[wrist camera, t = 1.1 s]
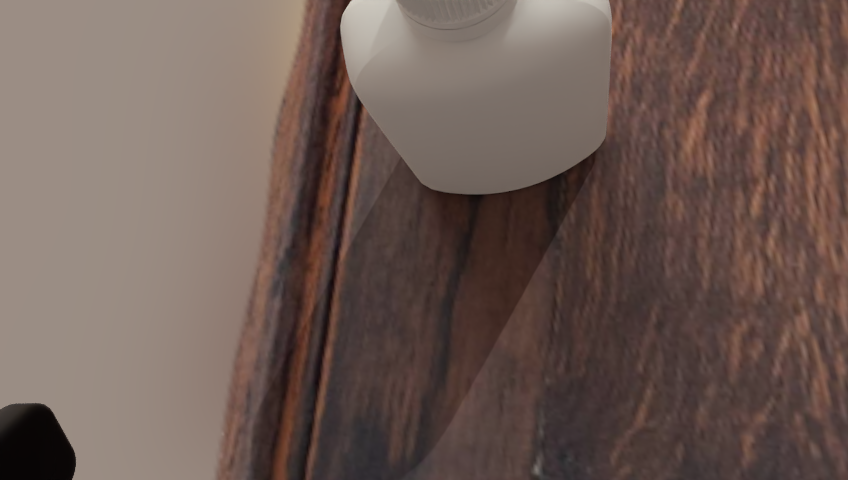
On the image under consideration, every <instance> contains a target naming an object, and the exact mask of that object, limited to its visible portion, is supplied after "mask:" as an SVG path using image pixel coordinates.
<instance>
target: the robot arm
mask: <svg viewBox="0 0 848 480" xmlns="http://www.w3.org/2000/svg"><path fill="white" fill-rule="evenodd" d="M75 467H76V457H75V453H74V450H73V448H72V446H71V444H70V443H69V441H68V439H67V437H66V435H65V433H64V432H63V430H62V428H61V426H60V424H59V423H58V421H57V419H56V417H55V416H54V414H53V412H52V411H51V409H50V408H48V407H47V406H46V405H44V404H39V403H27V404H11V405H8V406H6V407H4V408H2V409H0V480H72V478H73V475H74V472H75Z"/></svg>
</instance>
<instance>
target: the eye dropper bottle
mask: <svg viewBox="0 0 848 480" xmlns="http://www.w3.org/2000/svg"><path fill="white" fill-rule="evenodd" d="M340 28H341V38H342V45H343V51H344V57H345V62H346V67H347V71H348V75H349V79H350V82H351V84H352V87H353V89H354V91H355V92H356V94H357V96H358V97H359V99H360V101H361V102H362V104H363V105H364V107H365V108H366V109H367V111H368V112H369V114H370V115H371V117H372V118H373V120H374V121H375V122H376V124H377V125H378V126H379V128H380V129H381V130H382V132H383V133H384V134H385V136H386V137H387V138H388V140H389V141H390V142H391V144H392V145H393V146H394V148H395V149H396V150H397V152H398V153H399V154H400V156H401V157H402V158H403V160H404V161H405V162H406V164H407V165H408V166H409V168H410V169H411V170H412V172H413V173H414V174H415V175H416V177H417V178H418V179H419V181H420V182H421V183H422V184H423V185H425V186H427V187H429V188H430V189H433V190H437V191H441V192H447V193H455V194H493V193H501V192H508V191H513V190H517V189H521V188H525V187H528V186H531V185H534V184H537V183H540V182H543V181H545V180H548V179H550V178H552V177H554V176H556V175H558V174H560V173H562V172H564V171H566V170H568V169H569V168H571V167H573V166H574V165H576V164H578V163H579V162H581V161H582V160H584V159H585V158H587V157H588V156H589V155H591V154H592V153H593V152H594V151H595V150H597V149H598V148H599V146H600V145H601V143H602V142H603V141H604V139H605V138H606V129H607V113H608V96H609V79H610V58H611V29H612V16H611V10H610V4H609V0H352V1H351V2H350V3H349V5H348V6H347V8H346V10H345V11H344V13H343V15H342V20H341V26H340Z"/></svg>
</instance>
